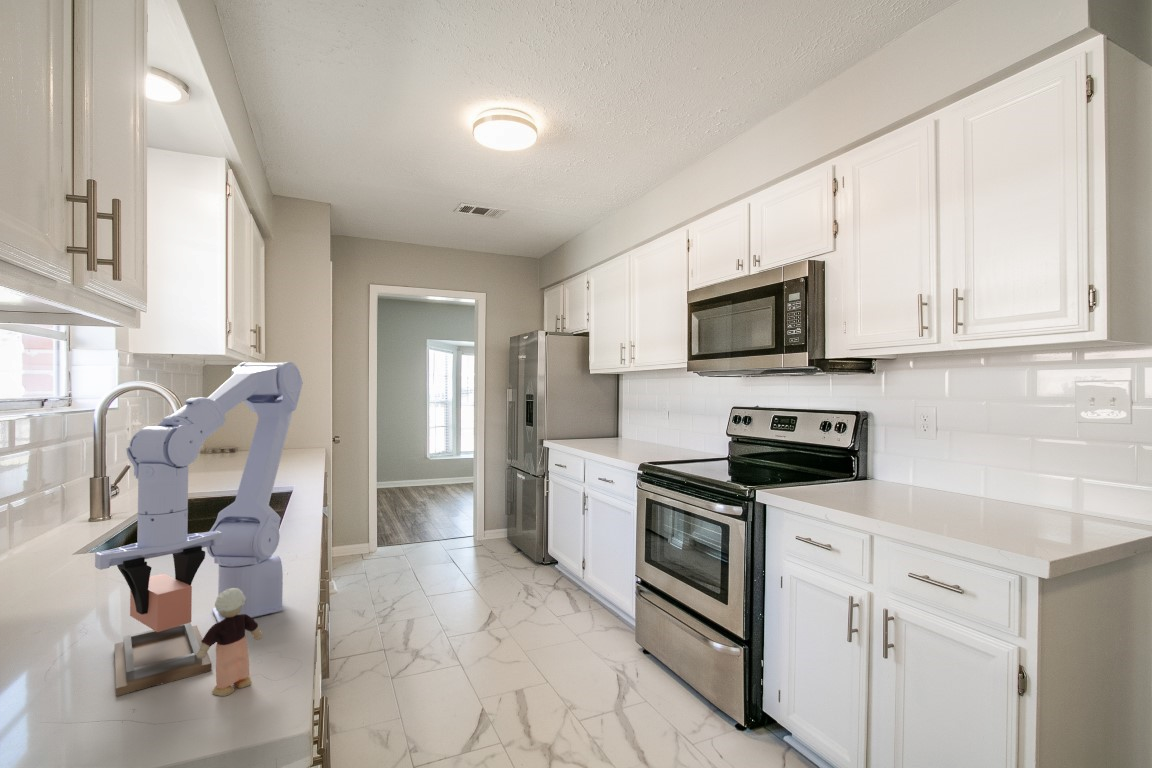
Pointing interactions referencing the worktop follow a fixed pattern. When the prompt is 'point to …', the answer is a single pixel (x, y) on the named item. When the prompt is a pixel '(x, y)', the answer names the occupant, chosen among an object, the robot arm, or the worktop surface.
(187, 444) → the robot arm
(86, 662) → the worktop surface
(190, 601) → the block
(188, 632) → the cradle
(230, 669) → the grandmother figurine
